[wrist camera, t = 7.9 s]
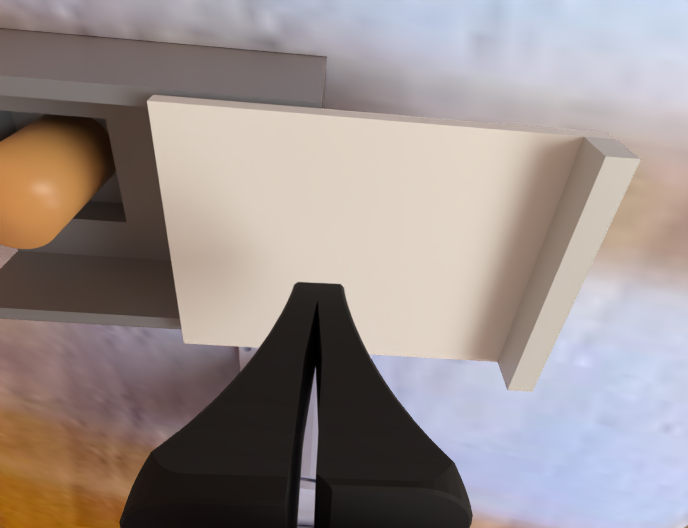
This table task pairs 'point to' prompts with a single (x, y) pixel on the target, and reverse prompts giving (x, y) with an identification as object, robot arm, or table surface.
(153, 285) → the housing
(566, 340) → the table surface
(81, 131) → the jaw peg
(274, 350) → the robot arm
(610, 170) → the lid
